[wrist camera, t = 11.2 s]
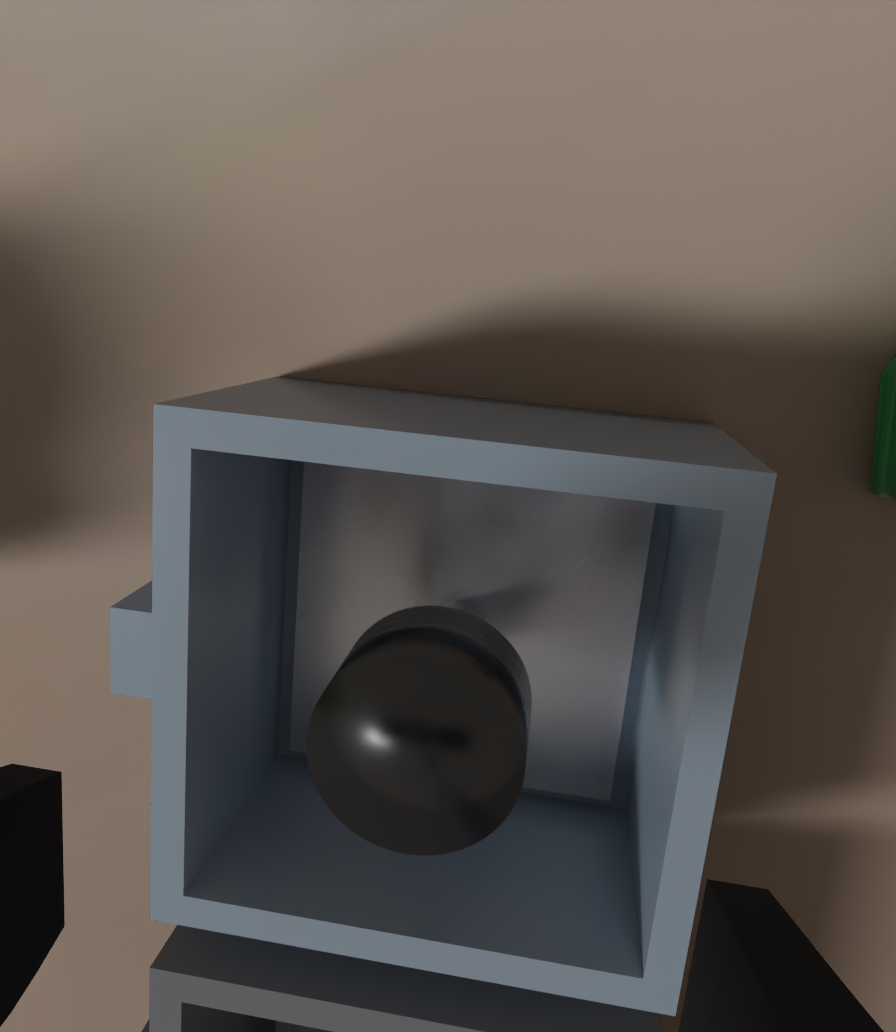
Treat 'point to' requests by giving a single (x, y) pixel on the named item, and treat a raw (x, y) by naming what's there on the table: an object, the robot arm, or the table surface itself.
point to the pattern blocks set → (885, 436)
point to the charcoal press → (347, 994)
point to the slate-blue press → (537, 813)
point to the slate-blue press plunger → (459, 648)
